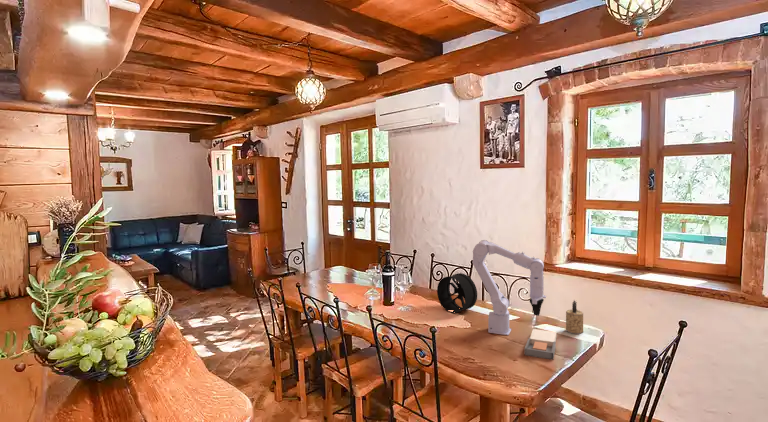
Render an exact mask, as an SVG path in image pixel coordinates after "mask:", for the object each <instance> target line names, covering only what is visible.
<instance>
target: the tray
mask: <svg viewBox="0 0 768 422" xmlns="http://www.w3.org/2000/svg"><path fill="white" fill-rule="evenodd" d="M556 343H557V342H555V341H554V342H553V346H552V347H550V346H547V351H542V350H536V349H533V346H534V344H530V337H527V341H526V343H525V346H524V349H523V350H524V353H523V354H524V356H528V357H534V358H539V359H547V360H553V361H554V359H555V353H556V352H555V351H556V347H557V345H556Z"/></svg>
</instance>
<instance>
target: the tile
mask: <svg viewBox="0 0 768 422" xmlns="http://www.w3.org/2000/svg"><path fill="white" fill-rule="evenodd" d="M533 349H536V350H542V351H547V343H542V342H535V343H534V346H533Z"/></svg>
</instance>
